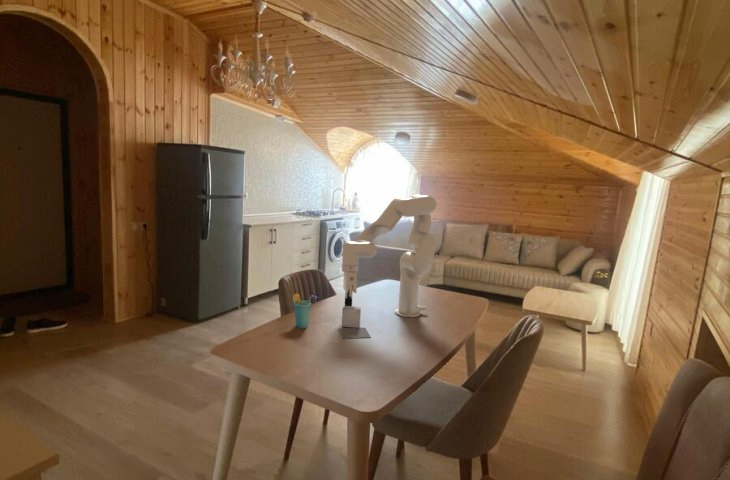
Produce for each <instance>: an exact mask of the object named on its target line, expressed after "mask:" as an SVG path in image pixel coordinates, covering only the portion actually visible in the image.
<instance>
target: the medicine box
mask: <svg viewBox="0 0 730 480" xmlns="http://www.w3.org/2000/svg"><path fill="white" fill-rule="evenodd" d="M361 309H362V307H361V306H355V305H354V306H353V305H352V306H345V305H343V307H342V313H341V316H342V317H341V328H342V327H343V328H361V315H362V313H361V312H362V311H361Z"/></svg>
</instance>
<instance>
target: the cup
mask: <svg viewBox="0 0 730 480" xmlns="http://www.w3.org/2000/svg"><path fill="white" fill-rule="evenodd" d="M312 298H314V299H316V300H319V296H317V295H313V294H311V295H310V296H309V298H308V300H302V299H301V295H300V294H299V293H294V294H293V296H292V301H293V306H294V313H295V314H294V315H295V327H297V329H305V328H308V326H309V320H310V319H309V318H310V311H311V306H312V302H311V299H312Z"/></svg>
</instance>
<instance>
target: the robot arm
mask: <svg viewBox="0 0 730 480" xmlns="http://www.w3.org/2000/svg"><path fill="white" fill-rule="evenodd" d="M436 208H437V201H436V199H435V198H434V197H433V196H430V195H427V194H426V195H425V194H423V195H422V194H414V195H412V196H410V197H409V198H407V197H406V198H405V197H396V198H394V199H392V200H391V202H389V203H388V205H387V207H386V208H385V209H384V211H383V212H382V213H381V214H380V216H378V218H377V219H376V220H375V221H374V222H373V223H371V224H369V225H368V226H367V227H366V228H365V229H364V230H363V231H362V232H361V233H360V234H359V236H358V237H357V238H356V239H355V241H354V240H349V241H348V240H346V241H344V242H343V244H342V258H341V259H342V263H341V271H342V272H343V281H342V283H343V284H342V287H343V290H344V292H345V294H344V306H353V293H354V294H357V280H358V279H357V277H358V276H357V275H358V274H357V273H359V260H360V259H359V258H362V259H364V258H365V259H370V258H374V256H376V255H377V251H378V248H377V245H376V244H375V243H373V242H374V241H375V240H376V239H377V238H379V237H380V236H382V235H385V234H388V233H390V232H392V231H393V229H394V228H395V227H396V225H397V224H398V223H399V221H400V220H401V219H402V217H407V218H408V217H410V218H411V217H414V218H413V219H414V220H413V225H412V228H411V230H410V231H411V232H410V235H409V237H408V243H407V244H408V246H409V247H410V248H411V249H412V250H414V251H416V252H413V251H406V252H404V253H402V255H401V256H400V259H399V269H400V271H399V272H400V278H399V295H398V297H399V298H398V307H397V308H396V309H395V310H394V312H395V314H396V315H398V316H400V317H404V318H417V317H419V316H420V315H421V311H427V306H423V305H419V303H418V302H419V291H420V289H419V288H420V276H423V275H425V274H426V273H428V272H429V270H430V268H431V266H432V262H433V259H434V256H435V254H436V253H435V252H436V250H437V239H436V238H435V236H434V235H432V234H431V233H430V231H431V227H432V216H431V213H433V212H435V210H436Z"/></svg>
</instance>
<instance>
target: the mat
mask: <svg viewBox="0 0 730 480" xmlns="http://www.w3.org/2000/svg"><path fill="white" fill-rule="evenodd" d="M338 330H339V334H340V336H341V339H343V340H347V339H348V340H349V339H371V338H372V337H371V335H370V333H369V332H368V330H367V328H366V327H359V328H353V327H343V328H342V327H341V328H340V327H339V328H338Z"/></svg>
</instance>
